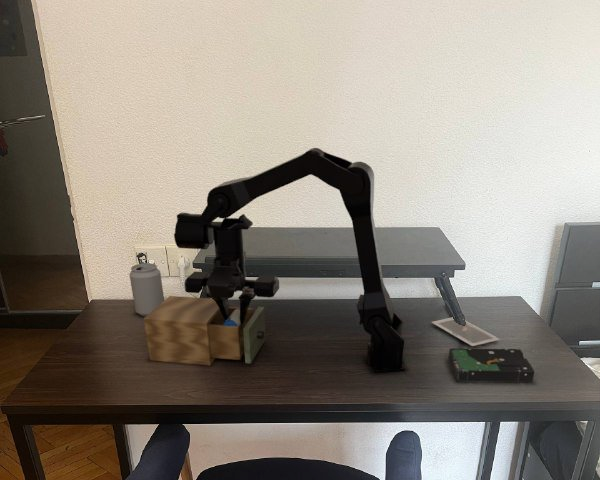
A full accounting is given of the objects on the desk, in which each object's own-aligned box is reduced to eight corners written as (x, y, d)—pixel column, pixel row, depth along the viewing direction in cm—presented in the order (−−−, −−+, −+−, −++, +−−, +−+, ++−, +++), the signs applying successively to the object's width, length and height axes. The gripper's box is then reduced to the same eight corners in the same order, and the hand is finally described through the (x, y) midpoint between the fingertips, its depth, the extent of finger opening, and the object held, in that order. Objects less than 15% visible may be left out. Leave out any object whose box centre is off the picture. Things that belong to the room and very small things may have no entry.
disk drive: (517, 360, 122) (447, 359, 123) (520, 348, 121) (448, 347, 121) (532, 384, 113) (456, 382, 114) (535, 371, 112) (458, 369, 112)
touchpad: (456, 320, 141) (457, 312, 140) (499, 343, 129) (501, 334, 128) (430, 326, 138) (431, 317, 137) (471, 350, 126) (473, 341, 125)
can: (142, 306, 152) (135, 261, 146) (169, 307, 151) (163, 262, 145) (131, 316, 145) (123, 270, 139) (159, 318, 144) (153, 271, 138)
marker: (235, 321, 127) (232, 307, 125) (247, 320, 126) (244, 306, 125) (223, 335, 120) (220, 321, 119) (236, 334, 119) (233, 320, 118)
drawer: (271, 339, 130) (269, 307, 126) (256, 364, 120) (254, 329, 116) (213, 335, 133) (210, 303, 129) (193, 359, 122) (189, 324, 118)
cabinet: (230, 339, 133) (226, 299, 128) (210, 365, 122) (206, 323, 117) (174, 334, 136) (169, 295, 131) (150, 360, 124) (143, 318, 119)
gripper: (169, 259, 110) (179, 335, 118) (264, 264, 107) (267, 341, 115) (190, 243, 119) (198, 314, 127) (278, 247, 116) (280, 320, 124)
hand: (234, 322), depth 123 cm, fingers closed on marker, 3 cm apart
